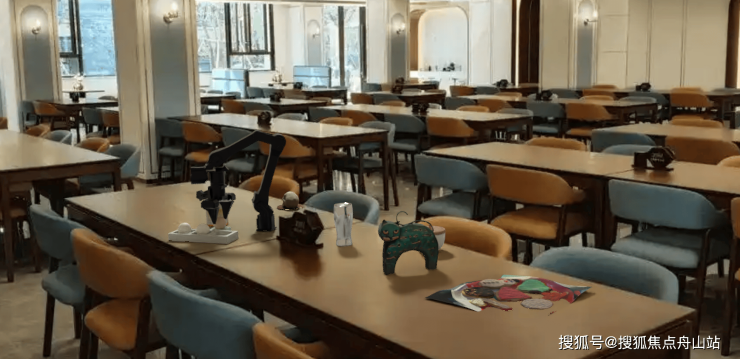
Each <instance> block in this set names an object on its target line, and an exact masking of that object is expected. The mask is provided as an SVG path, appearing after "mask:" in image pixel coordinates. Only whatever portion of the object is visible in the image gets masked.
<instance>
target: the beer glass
mask: <svg viewBox="0 0 740 359" xmlns="http://www.w3.org/2000/svg"><path fill="white" fill-rule="evenodd" d="M353 212H354V211H353V204H352V203H351V202H339V203H335V204H333V221H334V226H335V231H336V232H335V233H336V243H335V245H336V247H350V246H352V245H353V238H352V227H353V223H354V222H353V220H354V219H353V218H354V215H353V214H354V213H353Z"/></svg>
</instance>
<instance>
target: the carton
mask: <svg viewBox="0 0 740 359" xmlns="http://www.w3.org/2000/svg"><path fill="white" fill-rule="evenodd" d="M210 229H211V227H210V226H208V225H207V223H199V224H198V225H197V226H196V228H192V226H191V224H190V223H188V222H181V223H180V224H179V225H178V226H177V229H175V230H173V231H170V232H169V233H167V236H168V237H167V238H168V240H172V241H171V242H185V241H189V242H188V243H190V242H191V243H204V244H205V243H206V244H207V243H209V244H224V245H225V244H226V245H228V244H230V243H232V242H234V241H236V240H238V239H239V230H231V231H227V230H210Z"/></svg>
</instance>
